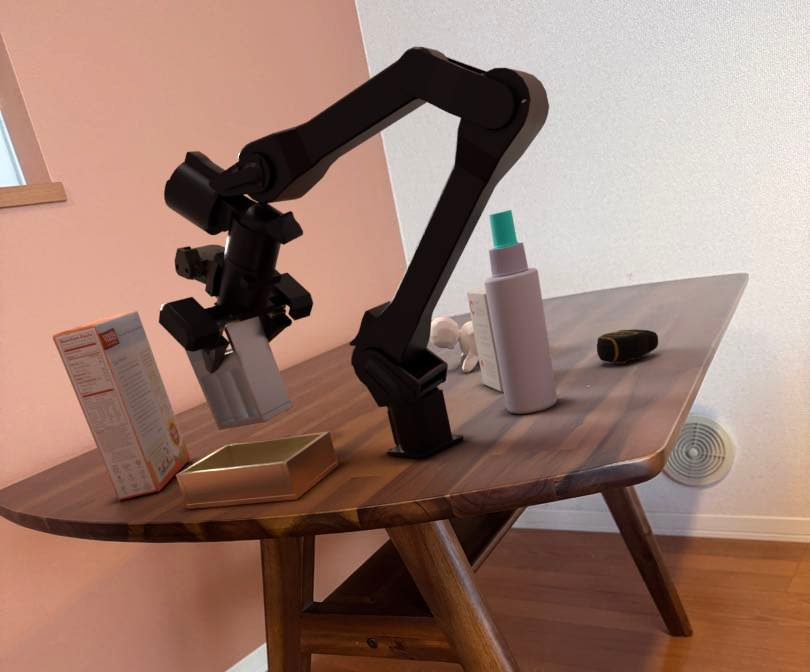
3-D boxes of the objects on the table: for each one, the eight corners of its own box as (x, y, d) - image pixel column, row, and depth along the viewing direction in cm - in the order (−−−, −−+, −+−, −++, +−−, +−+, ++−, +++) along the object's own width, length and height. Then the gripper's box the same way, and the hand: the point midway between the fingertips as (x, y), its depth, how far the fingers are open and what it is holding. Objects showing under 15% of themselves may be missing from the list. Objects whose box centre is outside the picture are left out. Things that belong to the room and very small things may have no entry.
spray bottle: (552, 411, 89) (520, 208, 81) (501, 417, 91) (466, 221, 83) (562, 397, 94) (533, 204, 86) (514, 403, 96) (481, 216, 88)
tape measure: (662, 354, 102) (659, 326, 101) (623, 368, 100) (620, 339, 98) (626, 353, 108) (622, 326, 107) (588, 366, 106) (584, 339, 104)
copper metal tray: (338, 465, 88) (329, 431, 87) (296, 499, 80) (286, 462, 78) (236, 476, 94) (226, 444, 92) (187, 509, 85) (175, 474, 84)
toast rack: (293, 406, 98) (257, 313, 94) (264, 422, 94) (225, 325, 90) (247, 415, 104) (212, 328, 99) (218, 430, 100) (180, 340, 96)
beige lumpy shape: (511, 371, 129) (423, 357, 128) (522, 319, 126) (431, 304, 125) (518, 381, 121) (423, 365, 120) (530, 326, 118) (433, 310, 117)
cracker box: (152, 468, 108) (97, 318, 101) (192, 460, 108) (140, 308, 100) (114, 502, 96) (48, 333, 88) (160, 493, 95) (97, 321, 87)
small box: (545, 381, 104) (529, 281, 99) (501, 393, 103) (483, 293, 98) (524, 373, 111) (508, 280, 106) (482, 384, 110) (464, 291, 105)
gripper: (269, 203, 94) (247, 309, 105) (134, 227, 82) (125, 343, 93) (329, 257, 91) (300, 360, 102) (198, 290, 79) (181, 402, 90)
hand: (229, 364), depth 97 cm, fingers closed on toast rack, 6 cm apart
